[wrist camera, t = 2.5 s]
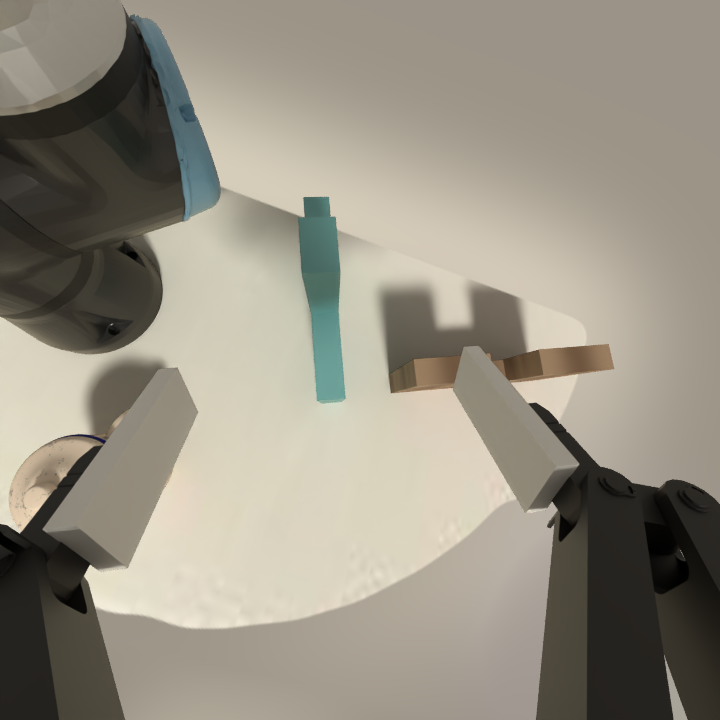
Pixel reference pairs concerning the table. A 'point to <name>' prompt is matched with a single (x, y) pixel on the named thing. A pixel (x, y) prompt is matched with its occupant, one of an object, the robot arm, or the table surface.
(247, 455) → the table surface
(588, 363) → the walnut slotted plate
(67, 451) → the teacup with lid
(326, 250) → the teal slotted plate
